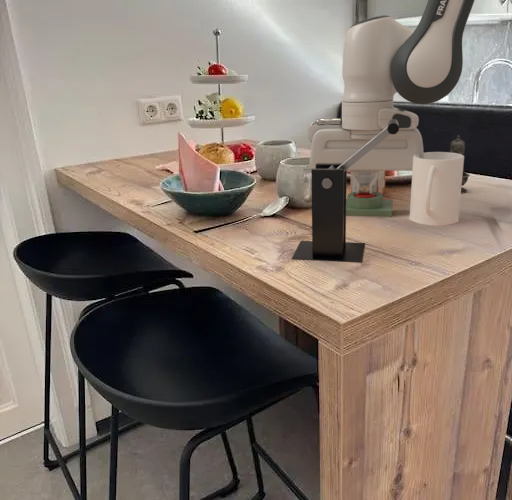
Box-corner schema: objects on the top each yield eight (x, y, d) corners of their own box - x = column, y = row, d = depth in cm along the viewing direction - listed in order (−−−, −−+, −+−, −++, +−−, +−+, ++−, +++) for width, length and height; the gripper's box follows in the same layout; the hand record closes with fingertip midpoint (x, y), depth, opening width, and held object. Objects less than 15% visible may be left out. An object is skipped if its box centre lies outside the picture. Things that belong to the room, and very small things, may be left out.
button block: (391, 210, 97) (392, 190, 96) (391, 222, 90) (392, 201, 88) (340, 209, 100) (340, 189, 98) (335, 221, 92) (336, 200, 91)
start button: (375, 200, 95) (375, 191, 94) (374, 205, 92) (374, 196, 91) (355, 200, 96) (356, 191, 95) (354, 205, 93) (354, 196, 92)
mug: (446, 240, 80) (453, 165, 76) (394, 232, 84) (398, 162, 80) (464, 220, 89) (471, 152, 85) (416, 215, 93) (420, 150, 89)
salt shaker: (441, 187, 113) (445, 133, 109) (469, 188, 110) (474, 133, 106) (437, 193, 108) (442, 136, 104) (467, 194, 106) (472, 137, 101)
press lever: (403, 127, 68) (391, 114, 68) (403, 132, 64) (391, 117, 64) (329, 187, 74) (318, 175, 74) (325, 195, 69) (314, 182, 69)
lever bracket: (364, 250, 77) (367, 161, 73) (361, 269, 70) (364, 172, 65) (300, 247, 80) (299, 161, 75) (291, 266, 73) (289, 172, 68)
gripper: (305, 120, 88) (306, 196, 93) (427, 118, 83) (421, 199, 88) (311, 117, 94) (311, 188, 99) (425, 114, 89) (420, 190, 94)
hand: (364, 193), depth 93 cm, fingers closed, pressing on start button
